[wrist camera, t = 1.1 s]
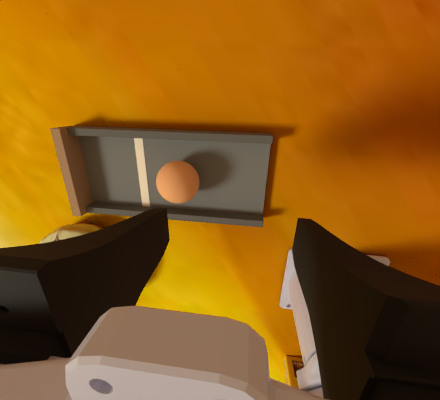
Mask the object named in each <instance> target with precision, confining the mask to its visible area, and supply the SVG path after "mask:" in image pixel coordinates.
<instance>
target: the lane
mask: <svg viewBox="0 0 440 400" xmlns="http://www.w3.org/2000/svg"><path fill="white" fill-rule="evenodd" d="M50 130H51V133H52V137H53V141H54V145H55V148H56V152H57V156H58V160H59V163H60V167H61V171H62V175H63V179H64V182H65V186H66V190H67V194H68V197H69V201H70V205H71V209H72V212H73V216H82V215H84V214H85V213H98V214H110V215H122V216H136V215H138V214H140V213H142V212H145V211H147V210H150V209H152V208H156V207H158V208H167V217H168V219H171V220H183V221H195V222H207V223H219V224H231V225H243V226H255V227H263V208H264V199H265V190H266V181H267V173H268V164H269V155H270V146H271V144H272V142H273V135H272V134H271V133H248V132H222V131H196V130H170V129H144V128H118V127H93V126H67V127H58V128H50ZM171 161H184V162H186V163H188V164H190V165H191V166H193V167H194V169H195V170H196V171H197V173H198V176H199V189H198V191H197V193H196V195H195V196H194V197H193V198H192V199H191V200H189V201H187V202H184V203H172V202H169V201H167V200H166V199H164V198H163V197H162V196H161V195H160V193H159V191H158V189H157V186H156V178H157V174H158V172H159V170H160V169H161V168H162V167H163V166H164V165H165V164H167V163H169V162H171Z"/></svg>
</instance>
